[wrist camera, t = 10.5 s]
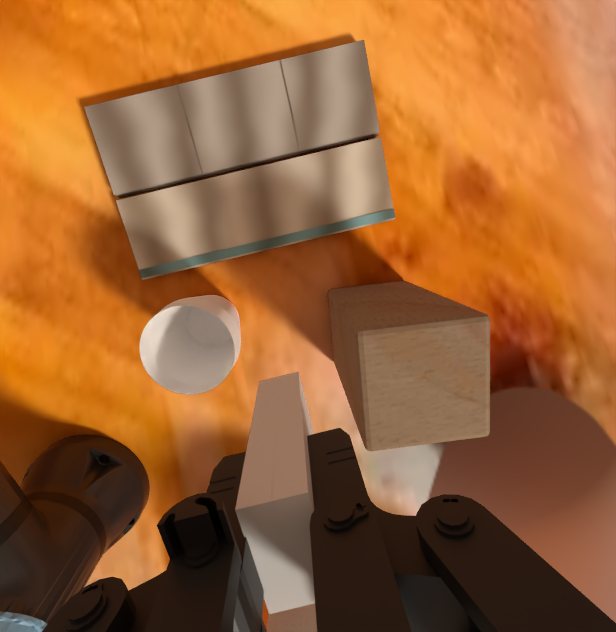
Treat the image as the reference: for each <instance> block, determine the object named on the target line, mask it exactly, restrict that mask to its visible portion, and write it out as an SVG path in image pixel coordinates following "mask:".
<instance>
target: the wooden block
mask: <svg viewBox="0 0 616 632" xmlns="http://www.w3.org/2000/svg"><path fill="white" fill-rule="evenodd" d="M328 303H329V313H330V323H331V334H332V344H333V354H334V363H335V366H336V369H337V371H338V374H339V377H340V380H341V382H342V385H343V388H344V391H345V394H346V396H347V399H348V402H349V405H350V407H351V410H352V413H353V416H354V419H355V421H356V424H357V427H358V430H359V433H360V435H361V438H362V441H363V444H364V446H365V448H366V449H367V450H368V451H377V450H384V449H392V448H400V447H408V446H415V445H423V444H431V443H439V442H447V441H454V440H462V439H470V438H478V437H485V436H487V435H489V432H490V319H489V316H488V315H487V314H484V313H482V312H479V311H477V310H475V309H472V308H470V307H467V306H465V305H462V304H460V303H458V302H455V301H453V300H450V299H448V298H445V297H443V296H441V295H438V294H436V293H433V292H431V291H428V290H426V289H424V288H421V287H419V286H416V285H414V284H412V283H409V282H407V281H396V282H387V283H379V284H370V285H361V286H353V287H344V288H335V289H330V290H328Z"/></svg>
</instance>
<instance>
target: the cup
mask: <svg viewBox="0 0 616 632" xmlns="http://www.w3.org/2000/svg"><path fill="white" fill-rule="evenodd" d="M240 346H241V335H240V319H239V314H238V311H237V310H236V308H235V306H234V305H233V304H232V303H231V302H230V301H229V300H227V299H226V298H224V297H221V296H218V295H204V296H196V297H189V298H183V299H179V300H176V301H174V302H172V303H170V304H168V305H167V306H165V307H164V308H163V309H162V310H161V311H160V312H159V313H157V314H156V315H155V316H154V317H153V318H152V319H151V320H150V321H149V322H148V323H147V325H146V326H145V328H144V330H143V332H142V335H141V339H140V356H141V360H142V363H143V365H144V368H145V369H146V371H147V373H148V374H149V375H150V376H151V378H152V379H153V380H154V381H155V382H157V383H158V384H159V385H161V386H162V387H164V388H166V389H167V390H170V391H172V392H175V393H180V394H189V395H191V394H200V393H204V392H207V391H209V390H211V389H213V388H215V387H216V386H218V385H219V384H220V383H221V382H222V381H223V380H224V379H225V378H226V377H227V376H228V374H229V372H230V371H231V369H232V368H233V366H234V364H235V363H236V361H237V359H238V356H239V352H240Z"/></svg>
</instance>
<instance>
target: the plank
mask: <svg viewBox="0 0 616 632" xmlns="http://www.w3.org/2000/svg"><path fill="white" fill-rule="evenodd" d="M116 203H117V206H118V209H119V212H120V215H121V218H122V221H123V224H124V227H125V230H126V233H127V236H128V239H129V242H130V245H131V248H132V251H133V254H134V257H135V260H136V262H137V265H138V268H139V273H140V276H141V278H142V280H145V279H149V278H153V277H157V276H161V275H165V274H170V273H174V272H178V271H182V270H186V269H190V268H195V267H199V266H203V265H207V264H211V263H215V262H220V261H224V260H228V259H232V258H236V257H240V256H244V255H249V254H253V253H257V252H261V251H265V250H269V249H274V248H278V247H282V246H286V245H290V244H294V243H299V242H303V241H307V240H311V239H315V238H319V237H324V236H328V235H332V234H336V233H340V232H344V231H349V230H353V229H357V228H361V227H365V226H369V225H373V224H378V223H382V222H386V221H390V220H394V219H395V213H394V209H393V203H392V198H391V192H390V186H389V181H388V175H387V169H386V163H385V158H384V152H383V146H382V141H381V137H379V138H375V139H371V140H366V141H362V142H358V143H354V144H350V145H346V146H341V147H337V148H333V149H329V150H325V151H321V152H316V153H312V154H308V155H304V156H300V157H296V158H291V159H287V160H283V161H279V162H275V163H271V164H266V165H262V166H258V167H254V168H250V169H246V170H241V171H237V172H233V173H229V174H225V175H221V176H216V177H212V178H208V179H204V180H200V181H196V182H191V183H187V184H183V185H179V186H175V187H171V188H166V189H162V190H158V191H154V192H150V193H146V194H141V195H137V196H133V197H129V198H125V199H121V200H116Z"/></svg>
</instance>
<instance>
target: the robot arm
mask: <svg viewBox="0 0 616 632" xmlns="http://www.w3.org/2000/svg"><path fill="white" fill-rule="evenodd" d="M148 496H149V480H148V476H147V473H146V471H145V469H144V467H143V465H142V463H141V462H140V461H139V459H138V458H137V457H136V456H135V455H134V454H133V453H132V452H131V451H130V450H129V449H127V448H126V447H124V446H123V445H121V444H119V443H117V442H115V441H113V440H110V439H107V438H104V437H100V436H93V435H79V436H73V437H69V438H66V439H63V440H60V441H58V442H56V443H55V444H53V445H52V446H50V447H49V448H48V449H47V450H46V451H44V452H43V453H42V454H41V455H40V456H39V457H38V458H37V459H36V460H35V461H34V462H33V463H32V464H31V466H30V467H29V469H28V470H27V472H26V474H25V477H24V479H23V482H22V484H21V486H20V487H19V486H18V484H17V483H16V481H15V480H14V479H13V477H12V476H11V475H10V473H9V472H8V471H7V469H6V468H5V467H4V465H3V464H2V462H1V461H0V632H267V631H266V628H265V625H264V622H263V619H262V612H263V597H264V599H265V602H266V605H267V608H268V611H269V614H273V613H277V612H281V611H285V610H289V609H293V608H297V607H302V606H306V605H310V604H314V603H315V609H316V623H317V632H616V623H615V622H614V621H613V620H611V619H610V618H609V617H608V616H607V615H606V614H605V613H603V612H602V611H601V610H600V609H599V608H598V607H597V606H595V604H593V603H592V602H591V601H590V600H589V599H588V598H587V597H585V596H584V595H583V594H582V593H581V592H580V591H578V589H576V588H575V587H574V586H573V585H572V584H571V583H570V582H569V581H567V580H566V579H565V578H564V577H563V576H562V575H561V574H559V573H558V572H557V571H556V570H555V569H554V568H552V566H550V565H549V564H548V563H547V562H546V561H545V560H544V559H542V558H541V557H540V556H539V555H538V554H537V553H536V552H534V551H533V550H532V549H531V548H530V547H529V546H528V545H527V544H526V543H524V542H523V541H522V540H521V539H520V538H519V537H518V536H517V535H515V534H514V533H513V532H512V531H511V530H510V529H509V528H507V527H506V526H505V525H504V524H503V523H502V522H500V520H498V519H497V518H496V517H495V516H494V515H493V514H491V513H490V512H489V511H488V510H487V509H486V508H485V507H484V506H482V505H481V504H479V503H478V502H476V501H474V500H473V499H471V498H467V497H464V496H460V495H440V496H437V497H433V498H431V499H429V500H428V501H426V502H425V503H424V504H422V505H421V507H420V509H419V511H418V512H417V515H416V516H404V515H395V514H391V513H388V512H385V511H383V510H381V509H379V508H378V507H376V506H375V505H374V504H373V503H372V502H371V500H370V498H369V496H368V494H367V491H366V488H365V484H364V481H363V478H362V475H361V471H360V468H359V465H358V462H357V458H356V455H355V452H354V449H353V445H352V442H351V439H350V436H349V435H348V434H347V433H346V432H344V431H343V430H342V429H341V428H337V429H333V430H329V431H325V432H321V433H316V434H314V431H313V427H312V423H311V419H310V415H309V411H308V407H307V403H306V399H305V395H304V392H303V388H302V384H301V380H300V376H299V372H296V373H292V374H287V375H283V376H279V377H275V378H271V379H267V380H263V381H259V386H258V391H257V397H256V402H255V407H254V412H253V418H252V423H251V428H250V434H249V439H248V444H247V450H246V452H243V453H239V454H235V455H230V456H226V457H224V458H223V459H222V460H221V461H220V463H219V464H218V465H217V466H216V467H215V469H214V470H213V473H212V477H211V480H210V485H209V486H208V490H207V493H202V494H196V495H194V496H191V497H188V498H186V499H184V500H182V501H181V502H179V503H177V504H176V505H174V506H173V507H172V508H171V509H170V510H169V511H168V512H166V513H165V514H164V515H163V517H162V518H161V520H160V521H159V523H158V525H157V527H158V529H159V532H160V534H161V537H162V540H163V542H164V545H165V547H166V550H167V552H168V555H169V557H170V561H169V564H168V567H167V570H166V571H164V572H163V573H161V574H160V575H158V576H156V577H154V578H152V579H151V580H149V581H147V582H145V583H143V584H141V585H139V586H137V587H135V588H133V589H131V590H129V591H128V589H127V587H126V585H125V584H124V582H123V580H122V579H119V578H115V577H109V578H104V579H100V580H98V581H96V582H94V583H92V584H90V585H88V586H86V587H85V585H86V583H87V582H88V580H89V578H90V576H91V574H92V573H93V571H94V569H95V567H96V565H97V564H98V562H99V560H100V558H101V557H102V555H103V554H104V553H105V552H106V551H107V550H108V549H110V548H111V547H112V546H113V545H114V544H115V543H116V542H117V541H118V540H119V539H121V538H122V537H123V536H124V535H125V534H126V533H127V532H128V531H129V530H130V529H131V528H132V527H133V526H134V525H135V523H136V522H137V521H138V519H139V517H140V515H141V513H142V511H143V510H144V508H145V506H146V503H147V500H148Z"/></svg>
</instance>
